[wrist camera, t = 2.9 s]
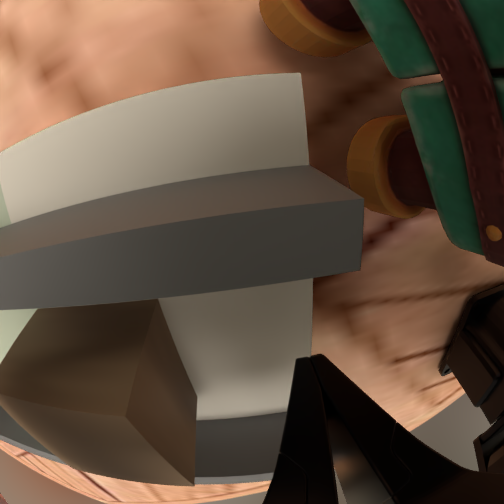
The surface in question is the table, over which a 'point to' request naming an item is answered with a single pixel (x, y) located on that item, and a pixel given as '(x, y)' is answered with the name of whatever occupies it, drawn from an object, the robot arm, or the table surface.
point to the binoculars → (422, 106)
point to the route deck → (185, 244)
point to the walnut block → (104, 391)
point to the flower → (2, 500)
